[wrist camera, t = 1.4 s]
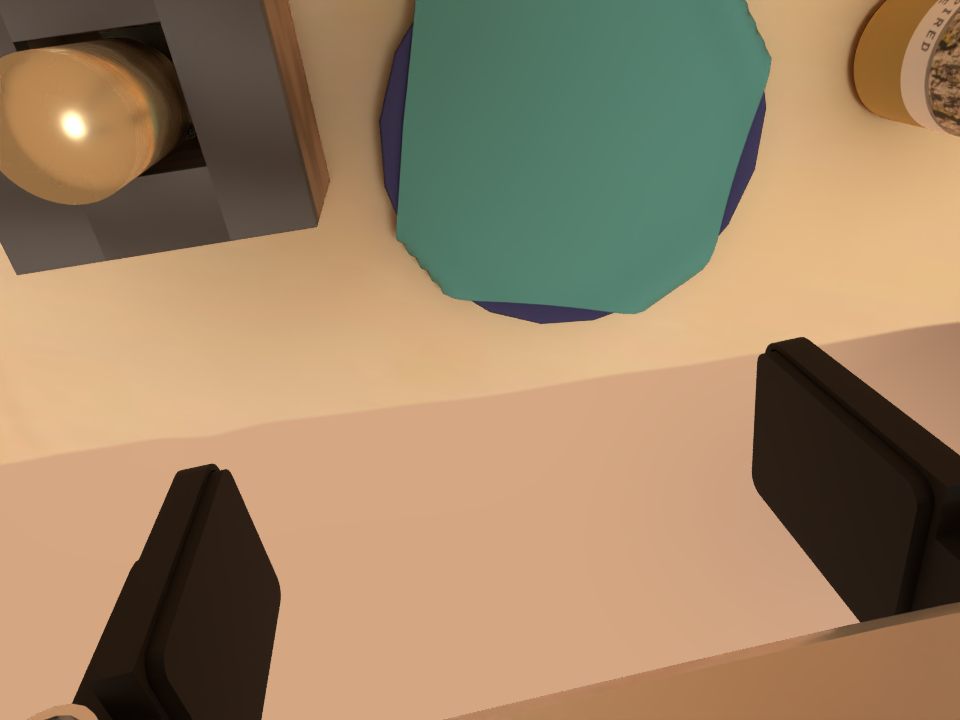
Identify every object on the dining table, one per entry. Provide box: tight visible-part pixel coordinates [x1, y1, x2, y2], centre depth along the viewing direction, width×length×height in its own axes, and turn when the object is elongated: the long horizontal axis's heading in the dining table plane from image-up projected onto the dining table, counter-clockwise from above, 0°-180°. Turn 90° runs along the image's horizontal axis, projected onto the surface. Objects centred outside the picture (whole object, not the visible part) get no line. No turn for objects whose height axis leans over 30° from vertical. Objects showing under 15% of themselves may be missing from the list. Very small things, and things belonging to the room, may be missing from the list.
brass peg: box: [0, 38, 192, 205], centre depth 23 cm, size 4×4×7 cm
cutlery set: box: [379, 0, 771, 324], centre depth 32 cm, size 20×30×2 cm, turn 172°
